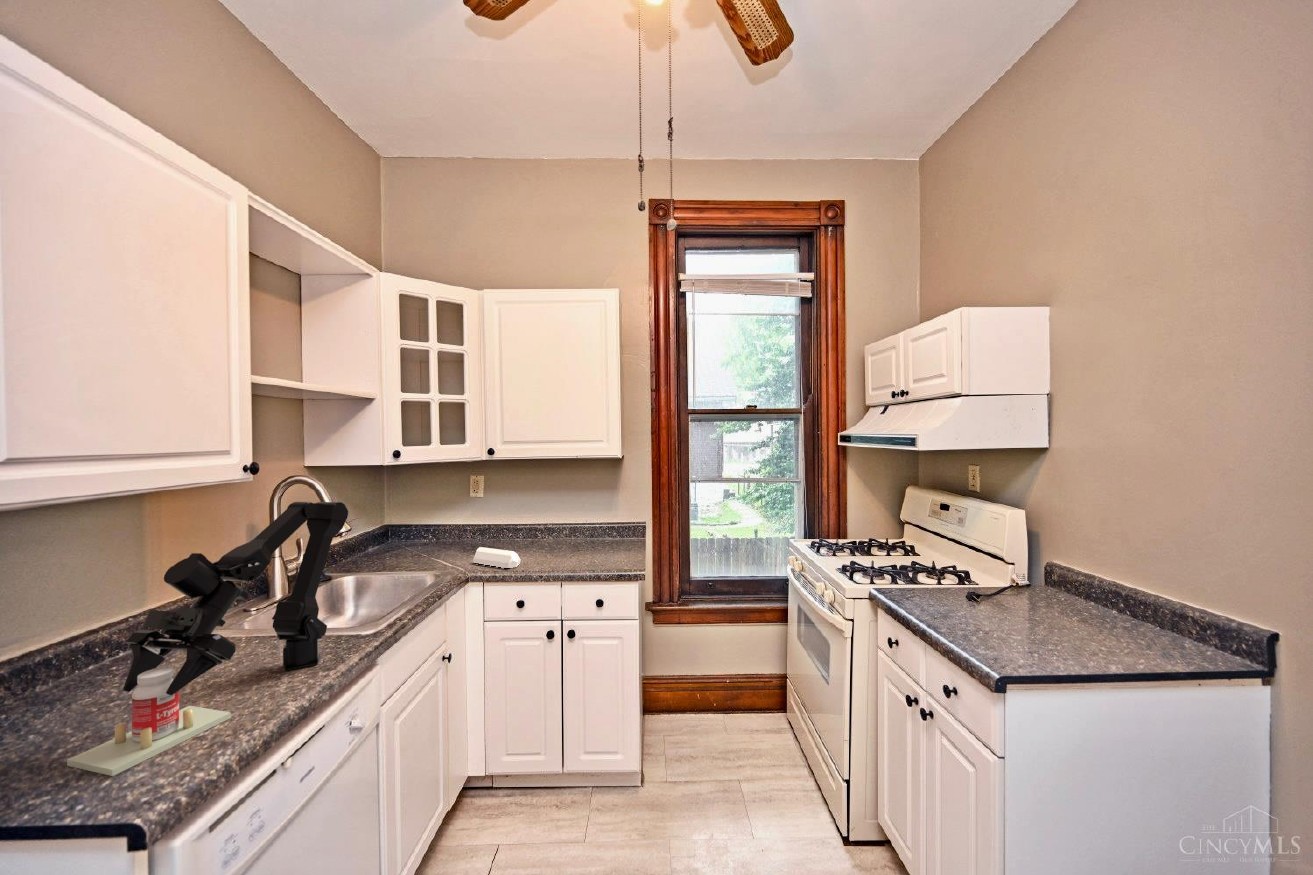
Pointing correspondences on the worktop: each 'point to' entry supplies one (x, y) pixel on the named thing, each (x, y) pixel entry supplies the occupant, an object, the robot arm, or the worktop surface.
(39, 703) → the worktop surface
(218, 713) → the standoff plate
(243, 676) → the worktop surface
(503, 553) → the white rounded log
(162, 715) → the pill bottle
